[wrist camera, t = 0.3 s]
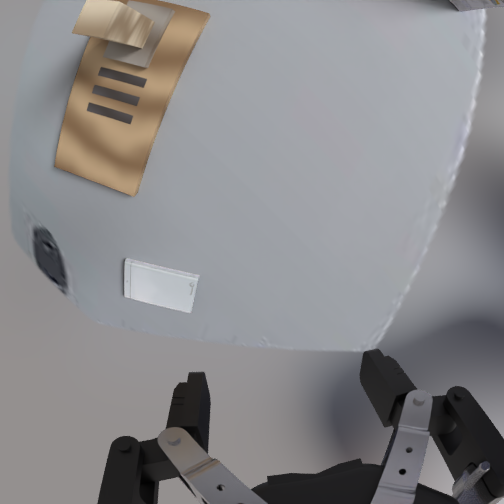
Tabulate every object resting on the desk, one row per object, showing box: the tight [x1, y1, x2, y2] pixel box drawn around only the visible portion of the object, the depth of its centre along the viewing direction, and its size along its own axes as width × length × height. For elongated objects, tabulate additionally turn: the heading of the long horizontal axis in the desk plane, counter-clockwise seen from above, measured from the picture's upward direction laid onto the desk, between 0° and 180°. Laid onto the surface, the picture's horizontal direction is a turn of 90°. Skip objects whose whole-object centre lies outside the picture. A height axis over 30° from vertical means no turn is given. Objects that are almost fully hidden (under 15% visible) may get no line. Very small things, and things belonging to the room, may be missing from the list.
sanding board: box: [54, 0, 210, 197], centre depth 29 cm, size 26×14×2 cm, turn 155°
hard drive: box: [124, 258, 199, 313], centre depth 47 cm, size 2×8×12 cm
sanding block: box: [72, 0, 175, 68], centre depth 20 cm, size 8×6×12 cm
